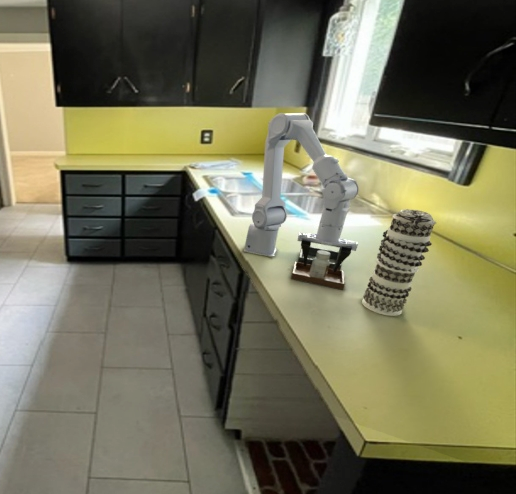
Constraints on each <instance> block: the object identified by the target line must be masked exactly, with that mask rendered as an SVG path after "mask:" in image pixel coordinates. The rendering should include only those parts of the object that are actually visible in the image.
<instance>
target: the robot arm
mask: <svg viewBox="0 0 516 494" xmlns="http://www.w3.org/2000/svg"><path fill="white" fill-rule="evenodd" d="M267 126H268V127H267V135H266V138H265V143H264V157H263V174H262V192H261V194H262V195H261V198H260V199H259V200H257V202H256V203H255V204H254V209H253V212H252V215H251V221H252V223H250V224H249V226H248V229H247V234H246V237H245V242H244V243H245V244H244V249H243V252H244V253H249V254H255V255H260V256H265V257H270V258H274V257H275V255H276V252H277V250H278V249H277V247H276V245H277V240H278V235H279V231H280V228H281V227H282V225H283V224H284V223H285V222H286V220H287V218H288V212H287V209H286V201H285V200H284V199H282V197H281V195H282V184H283V183H282V182H283V170H284V154H285V147H286V146H287V145H288V144H289V143H290V142H291V141H297V142H298V143H299V144H300V145H301V147H302V149H304V151H305V152H306V153H307V155H308V156H309V158H310V159H311V160H312V162H313V164H312V167H311V170H312V171H313V173H314V174H315V176H316V177H317V179H318V181H319V182H320V184H321V186H322V187H323V189H322V191H321V192H322V197H323V208H322V211H321V216H320V221H319V224H318V228H317V231H316V233H304V232H298V237H297V242H300V249H301V248H302V251H303V254H302V257H304V265H303V266H306V264H307V258H309V255H308V254H309V250H310V247H311V244H317V245H323V246H328V247H334V248H335V247H336V248H339V249H338V252H339V253H338V256H337V260H335V262H334V263H335V265H334V268H333V272H336V271H337V269H338V267H339V266H340V265H341V266H342V264H343V263H344V261H345V260H346V259H347V258H349V257H350V256H351V254H352V251H354V252H356V251H357V249H358V246H359V243H358V241H353V240H348V239H345V238H341V236H342V232H343V229H344V225H345V222H346V219H347V215H348V212H349V209H350V205H351V200H354V199H355V198H356V197H358V194H359V190H360V189H359V184H358V182H357V180H355V179H353V178H350V177H349V176H348V174H347V173H345V172H344V170H343V169H342V167H341V165H340V164H339V162H340V160H339V159H338V158H337V157H335V156H333V155H328V154H327V153H326V151H325V149H324V147H323V145H322V143H321V142H320V140H319V137H318V136H317V134H316V132H315V130H314V127H313V126H314V122H313V121H312V120H311V119H310V116H309V115H308V113H306V112H299V113H298V112H297V113H296V112H295V113H284V112H280V113H277V114H275V115H274V116H273V117H272V118H271V119H270V120H269V122H268V125H267Z"/></svg>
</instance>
